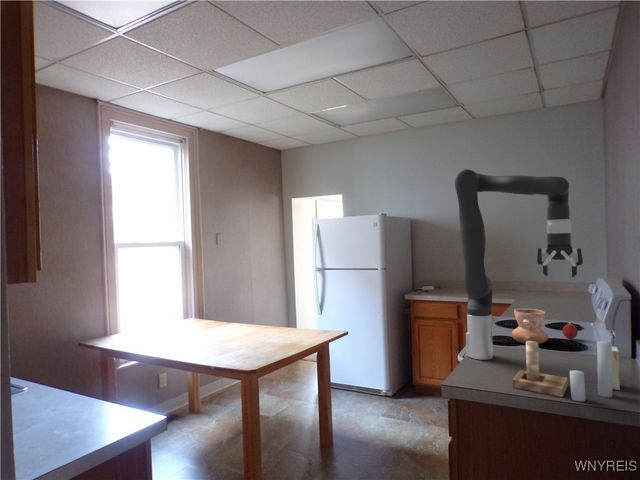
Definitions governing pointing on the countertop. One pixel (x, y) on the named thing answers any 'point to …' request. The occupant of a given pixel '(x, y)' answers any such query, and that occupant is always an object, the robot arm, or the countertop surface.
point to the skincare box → (615, 368)
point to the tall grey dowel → (604, 368)
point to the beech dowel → (532, 360)
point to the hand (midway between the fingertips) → (559, 276)
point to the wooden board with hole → (541, 383)
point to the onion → (570, 331)
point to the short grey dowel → (577, 385)
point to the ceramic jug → (529, 326)
